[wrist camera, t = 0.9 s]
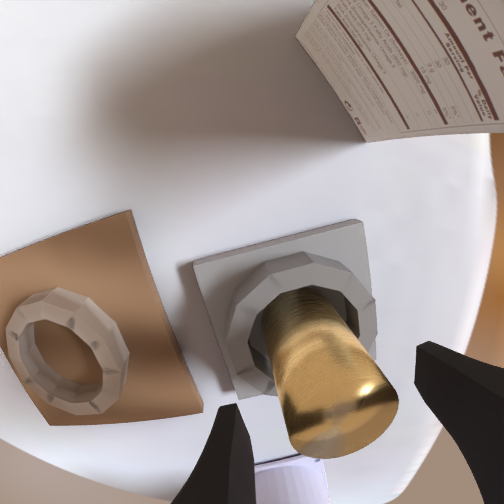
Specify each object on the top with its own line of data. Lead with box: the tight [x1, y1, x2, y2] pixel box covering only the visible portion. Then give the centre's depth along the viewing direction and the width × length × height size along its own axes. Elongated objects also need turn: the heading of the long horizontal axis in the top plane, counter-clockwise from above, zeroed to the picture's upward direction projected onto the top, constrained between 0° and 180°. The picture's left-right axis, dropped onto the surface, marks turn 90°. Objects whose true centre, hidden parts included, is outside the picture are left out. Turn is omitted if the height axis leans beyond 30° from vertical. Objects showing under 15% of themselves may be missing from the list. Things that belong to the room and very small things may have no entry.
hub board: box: [0, 210, 203, 426], centre depth 16 cm, size 13×13×3 cm
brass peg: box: [261, 287, 399, 459], centre depth 13 cm, size 4×4×8 cm
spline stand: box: [193, 219, 377, 400], centre depth 16 cm, size 9×9×3 cm
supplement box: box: [295, 0, 504, 143], centre depth 9 cm, size 7×7×13 cm
